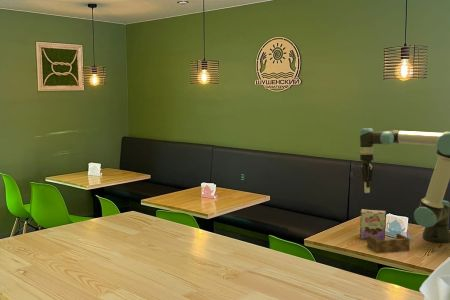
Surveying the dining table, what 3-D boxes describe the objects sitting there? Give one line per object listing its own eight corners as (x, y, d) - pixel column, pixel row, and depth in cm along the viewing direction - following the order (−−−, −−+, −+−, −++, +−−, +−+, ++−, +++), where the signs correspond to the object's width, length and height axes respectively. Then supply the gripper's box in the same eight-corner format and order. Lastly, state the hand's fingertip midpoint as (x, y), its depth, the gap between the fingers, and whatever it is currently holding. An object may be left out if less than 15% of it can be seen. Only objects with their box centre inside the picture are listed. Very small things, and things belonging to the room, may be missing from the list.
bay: (398, 243, 254) (399, 233, 253) (409, 249, 244) (409, 239, 243) (367, 246, 251) (367, 235, 250) (376, 252, 241) (377, 241, 240)
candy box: (359, 238, 263) (360, 211, 261) (359, 235, 269) (360, 208, 267) (384, 241, 259) (386, 213, 257) (384, 238, 264) (385, 210, 262)
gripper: (356, 153, 281) (356, 191, 282) (365, 154, 268) (366, 194, 269) (367, 153, 282) (368, 190, 283) (377, 154, 269) (378, 193, 270)
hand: (367, 192), depth 276 cm, fingers closed
